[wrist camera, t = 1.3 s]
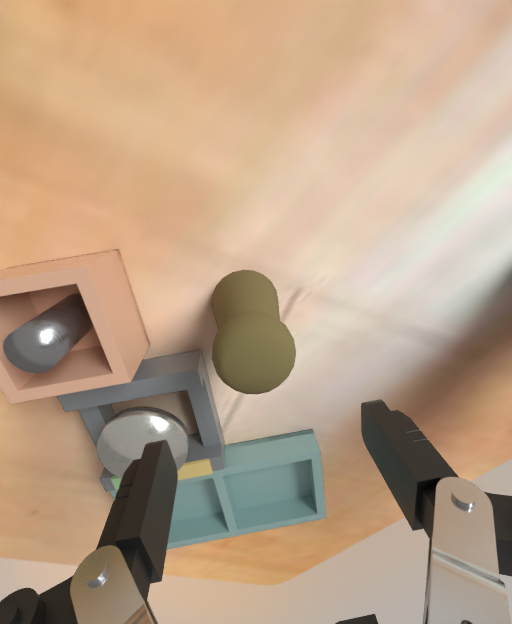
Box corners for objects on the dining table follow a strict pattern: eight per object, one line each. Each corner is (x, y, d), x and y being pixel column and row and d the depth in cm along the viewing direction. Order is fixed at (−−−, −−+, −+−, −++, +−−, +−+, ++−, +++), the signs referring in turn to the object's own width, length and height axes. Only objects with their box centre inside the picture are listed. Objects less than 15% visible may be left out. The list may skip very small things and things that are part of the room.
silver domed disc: (181, 382, 28) (175, 409, 24) (199, 442, 31) (196, 473, 27) (100, 397, 27) (82, 426, 24) (126, 455, 30) (114, 489, 27)
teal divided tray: (312, 428, 33) (320, 450, 31) (318, 494, 38) (326, 517, 35) (119, 465, 33) (109, 490, 30) (148, 527, 37) (141, 554, 34)
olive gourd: (255, 342, 29) (270, 424, 18) (199, 312, 27) (183, 385, 17) (290, 291, 27) (329, 350, 17) (234, 256, 25) (238, 299, 15)
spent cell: (93, 290, 25) (45, 325, 18) (106, 324, 26) (66, 368, 19) (54, 297, 25) (-7, 334, 18) (69, 331, 26) (17, 377, 19)
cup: (118, 249, 24) (86, 265, 19) (150, 344, 28) (130, 382, 22) (8, 267, 24) (-58, 290, 18) (54, 361, 27) (10, 403, 22)
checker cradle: (201, 349, 28) (197, 371, 25) (224, 441, 33) (224, 471, 29) (76, 371, 28) (54, 397, 24) (117, 462, 33) (104, 494, 29)
